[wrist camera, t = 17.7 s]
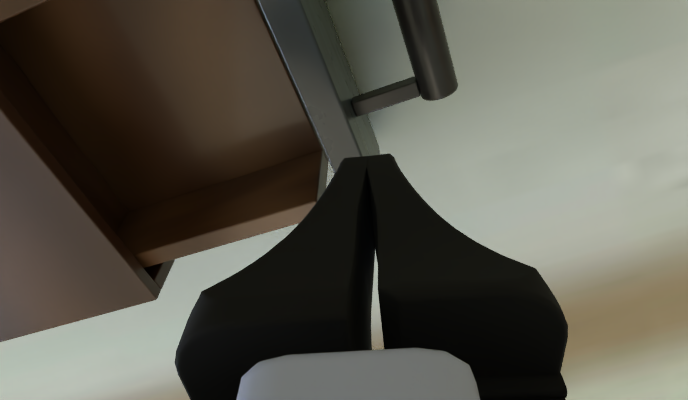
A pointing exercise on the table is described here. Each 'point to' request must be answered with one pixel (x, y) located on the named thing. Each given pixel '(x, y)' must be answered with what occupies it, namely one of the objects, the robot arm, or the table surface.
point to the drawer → (202, 108)
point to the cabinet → (57, 243)
